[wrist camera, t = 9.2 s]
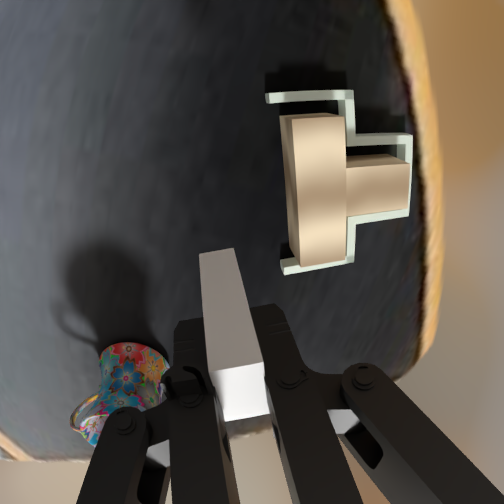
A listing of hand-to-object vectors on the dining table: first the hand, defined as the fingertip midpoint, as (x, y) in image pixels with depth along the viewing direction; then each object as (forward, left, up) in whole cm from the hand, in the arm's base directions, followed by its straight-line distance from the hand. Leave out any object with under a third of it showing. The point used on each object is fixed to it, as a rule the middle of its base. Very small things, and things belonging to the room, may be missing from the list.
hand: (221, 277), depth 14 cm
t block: (+1, +11, -14) cm, 18 cm away
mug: (+19, -14, -14) cm, 27 cm away
